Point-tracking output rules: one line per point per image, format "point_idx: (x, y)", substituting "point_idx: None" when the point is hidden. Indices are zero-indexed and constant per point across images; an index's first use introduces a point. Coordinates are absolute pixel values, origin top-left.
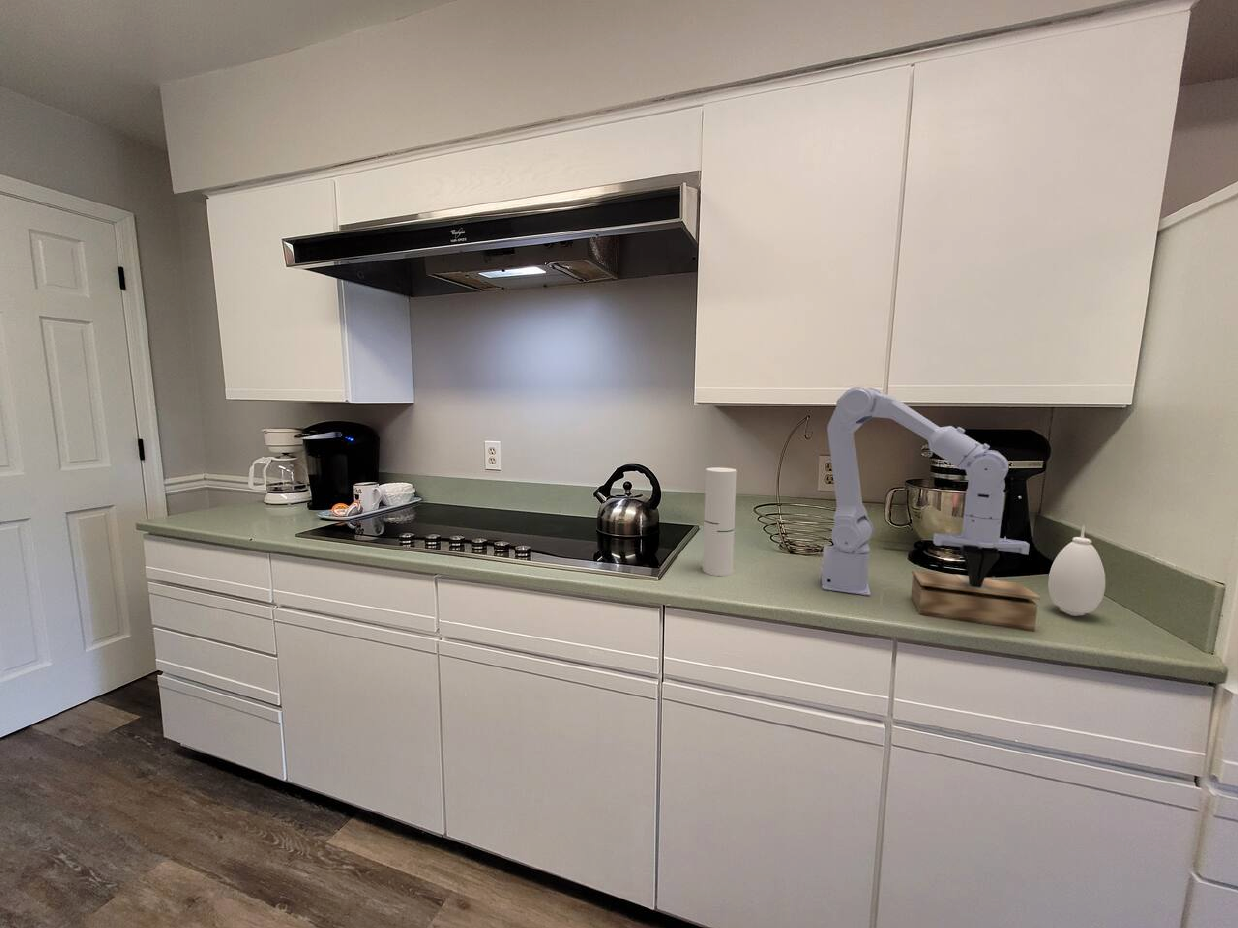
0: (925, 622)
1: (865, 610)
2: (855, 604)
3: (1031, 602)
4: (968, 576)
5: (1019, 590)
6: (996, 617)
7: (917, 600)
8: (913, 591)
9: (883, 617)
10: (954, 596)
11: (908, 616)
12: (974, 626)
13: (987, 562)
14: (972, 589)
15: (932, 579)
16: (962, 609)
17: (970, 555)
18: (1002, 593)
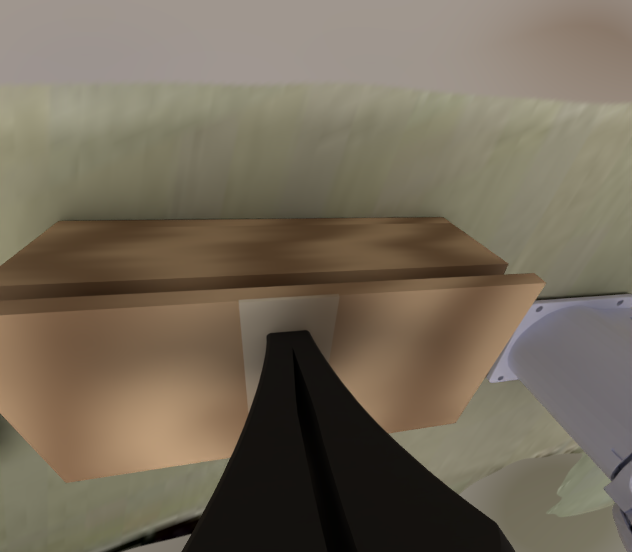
0: (456, 147)
1: (607, 181)
2: (606, 221)
3: None
4: None
5: (59, 384)
6: (198, 233)
7: None
8: None
9: (585, 138)
10: (378, 264)
11: (489, 184)
12: (284, 180)
13: (270, 507)
14: (320, 292)
15: (453, 350)
16: (327, 237)
17: (486, 543)
18: (160, 300)
